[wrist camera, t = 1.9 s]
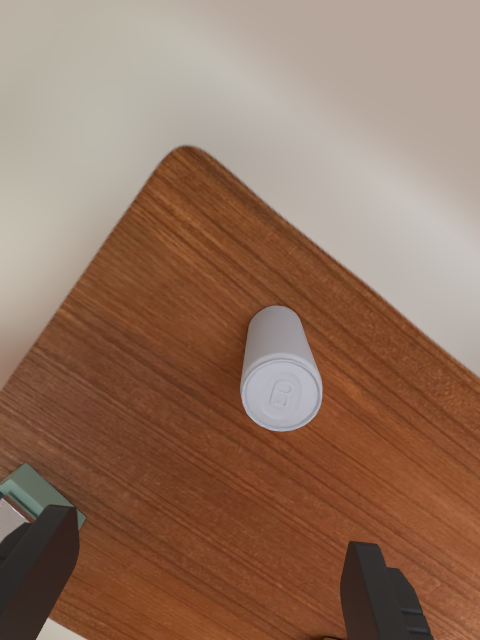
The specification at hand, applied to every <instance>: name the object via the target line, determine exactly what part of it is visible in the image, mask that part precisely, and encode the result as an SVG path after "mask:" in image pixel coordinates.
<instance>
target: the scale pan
mask: <svg viewBox="0 0 480 640" xmlns="http://www.w3.org/2000/svg"><path fill="white" fill-rule="evenodd" d="M36 519H37V518H36V517H35V516H33V515H32V514H31V513H30V512H29V511H28V510H27V509H26V508H24V507H23V506H22V505H21V504H20V503H19V502H18V501H17V500H15V499H14V498H13V497H12V496H11V495H10V494H9V493H7V494H5V495H4V496H3V497H1V498H0V543H1V541H2V540H3V539H4V538H5V537H6V536H7V535H8V534H10V533H11V532H12V531H14V530H15V529H16V528H18V527H19V526H20V525H22V524H23V523H24V522H28V523H34V521H35V520H36Z"/></svg>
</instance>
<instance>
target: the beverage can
mask: <svg viewBox="0 0 480 640" xmlns="http://www.w3.org/2000/svg"><path fill="white" fill-rule="evenodd" d="M240 392H241V398H242V402H243V406H244V408H245V410H246V412H247V414H248V415H249V416H250V417H251V419H252V420H253V421H254V422H256V423H257V424H259V425H260V426H262V427H264V428H267V429H269V430H274V431H291V430H294V429H297V428H300V427H302V426H304V425H305V424H307V423H308V422H310V421H311V420H312V418H313V417H314V416H315V415H316V414H317V412H318V410H319V408H320V406H321V401H322V380H321V377H320V374H319V371H318V369H317V366H316V363H315V361H314V358H313V356H312V353H311V350H310V348H309V345H308V342H307V339H306V336H305V333H304V330H303V327H302V324H301V321H300V319H299V317H298V316H297V314H296V313H295V312H293V311H292V310H291V309H289V308H287V307H284V306H277V305H275V306H269V307H267V308H264V309H262V310H261V311H260V312H258V313H257V314H256V315H255V316H254V317H253V318H252V320H251V322H250V324H249V328H248V334H247V342H246V349H245V356H244V363H243V370H242V378H241V385H240Z"/></svg>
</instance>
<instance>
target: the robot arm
mask: <svg viewBox="0 0 480 640" xmlns="http://www.w3.org/2000/svg"><path fill="white" fill-rule="evenodd" d="M79 547H80V544H79V530H78V515H77V509H76V507H71V506H63V505H54V504H49V505H47V506H46V507H45V508H44V509H43V511H42V512H41V513H40V515H39V516H38V517H37V519H36V520H35V521H34V523H28V522H24V523H23V524H22V525H20V526H19V527H18V528H16V529H15V530H14V531H12V532H11V533H10V534H8V535H7V536H6V537H5V538H4V539H3V540H2V541H1V543H0V640H36V638H37V636H38V634H39V633H40V631H41V629H42V627H43V625H44V623H45V622H46V619H47V618H48V616H49V614H50V612H51V610H52V609H53V607H54V605H55V603H56V601H57V599H58V597H59V596H60V594H61V592H62V590H63V588H64V586H65V584H66V583H67V581H68V579H69V577H70V575H71V573H72V571H73V569H74V567H75V565H76V562H77V558H78V554H79ZM340 596H341V605H342V611H343V616H344V621H345V626H346V631H347V637H348V640H434V638H433V636H432V635H431V633H430V628H429V626H428V623H427V621H426V618H425V616H423V610H422V608H421V605H420V603H419V600H418V598H417V595H416V593H415V590H414V588H413V587H412V586H411V584H410V583H409V582H408V580H407V579H406V578H405V576H404V575H403V574H402V572H401V571H400V570H399V569H397V568H388V567H386V564H385V561H384V558H383V555H382V552H381V550H380V547H379V546H378V545H377V544H373V543H365V542H356V541H350V542H349V544H348V548H347V553H346V558H345V562H344V567H343V572H342V576H341V583H340Z"/></svg>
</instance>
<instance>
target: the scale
mask: <svg viewBox="0 0 480 640" xmlns="http://www.w3.org/2000/svg"><path fill="white" fill-rule="evenodd" d="M7 493H9V494H10V495H11V496H12V497H13V498H14V499H15V500H17V501H18V502H19V503H20V504H21V505H22V506H23V507H24V508H26V509H27V510H28V511H29V512H30V513H31V514H32V515H33V516H35V517H36V518H37V517H38V516H39V515H40V513H41V512H42V511H43V509H44V508H45V507H46V506H47V505H49V504H54V505H63V506H71V507H74V506H73V505H72V504H71V503H70V502H69V501H68V500H67V499H66V498H65V497H63V496H62V495H61V494H60V493H59V492H58V491H57V490H56V489H55V488H54V487H53V486H51V485H50V484H49V483H48V482H47V481H46V480H45V479H44V478H43V477H42V476H41V475H39V474H38V473H37V472H36V471H35V470H34V469H33V468H32V467H31V466H30V465H29V464H27V463H26V462H25V463H24V464H22V465H21V466H20V467H19V468H17V469H16V470H15V471H14V472H12V473H11V474H10V475H8V476H7V477H6V478H5V479H3V480H2V481H1V482H0V498H1V497H3V496H4V495H5V494H7ZM76 509H77V508H76ZM77 515H78V530H79V529H80V528H81V526H82V524H83V522H84V521H85V519H86V517H85V516H84V515H83V514H82V513H81V512H80V511H79V510H78V509H77Z"/></svg>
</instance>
